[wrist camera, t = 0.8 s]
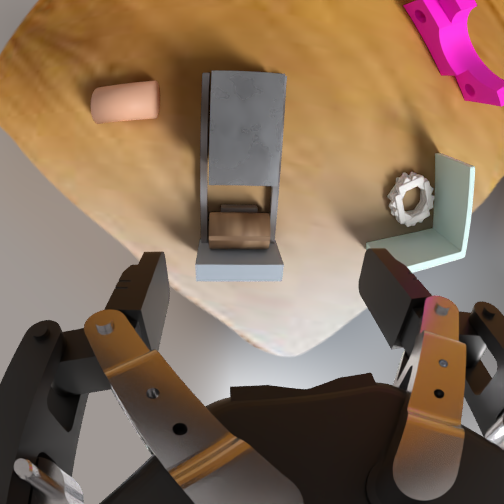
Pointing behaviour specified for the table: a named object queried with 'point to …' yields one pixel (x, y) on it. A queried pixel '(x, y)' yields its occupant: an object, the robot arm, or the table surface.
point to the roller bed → (228, 221)
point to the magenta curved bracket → (456, 47)
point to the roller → (125, 102)
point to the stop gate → (238, 264)
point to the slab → (245, 127)
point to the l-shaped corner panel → (444, 219)
